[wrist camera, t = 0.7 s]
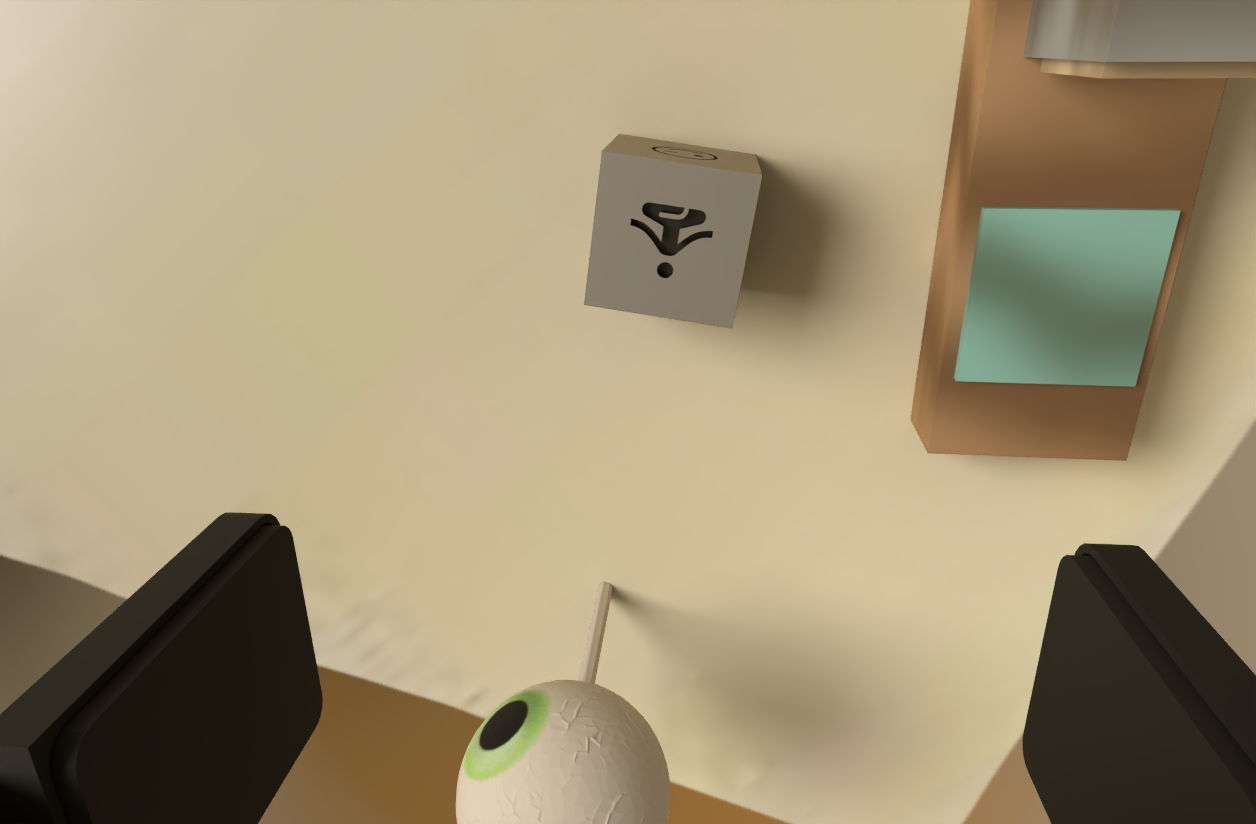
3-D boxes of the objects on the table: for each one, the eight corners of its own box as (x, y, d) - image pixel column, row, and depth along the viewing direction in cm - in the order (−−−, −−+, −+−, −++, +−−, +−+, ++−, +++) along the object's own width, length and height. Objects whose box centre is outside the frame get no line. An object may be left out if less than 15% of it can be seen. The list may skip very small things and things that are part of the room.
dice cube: (755, 154, 30) (762, 175, 26) (730, 287, 32) (732, 328, 28) (619, 133, 31) (602, 150, 26) (602, 267, 33) (584, 304, 28)
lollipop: (624, 495, 37) (569, 767, 23) (713, 610, 39) (711, 924, 25) (498, 566, 39) (379, 854, 25) (588, 672, 41) (524, 992, 27)
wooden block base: (996, -176, 26) (1126, -275, 18) (1238, -183, 25) (1491, -290, 17) (910, 419, 34) (972, 541, 26) (1092, 425, 33) (1215, 552, 25)
